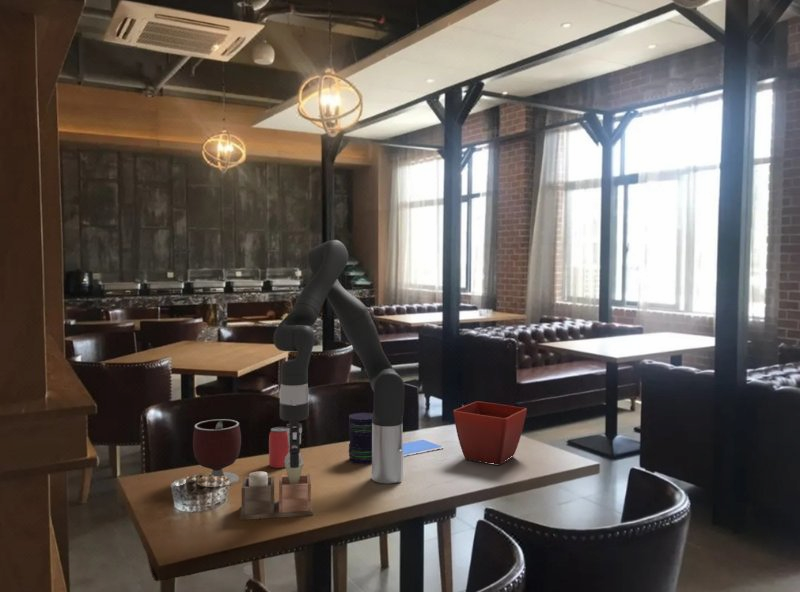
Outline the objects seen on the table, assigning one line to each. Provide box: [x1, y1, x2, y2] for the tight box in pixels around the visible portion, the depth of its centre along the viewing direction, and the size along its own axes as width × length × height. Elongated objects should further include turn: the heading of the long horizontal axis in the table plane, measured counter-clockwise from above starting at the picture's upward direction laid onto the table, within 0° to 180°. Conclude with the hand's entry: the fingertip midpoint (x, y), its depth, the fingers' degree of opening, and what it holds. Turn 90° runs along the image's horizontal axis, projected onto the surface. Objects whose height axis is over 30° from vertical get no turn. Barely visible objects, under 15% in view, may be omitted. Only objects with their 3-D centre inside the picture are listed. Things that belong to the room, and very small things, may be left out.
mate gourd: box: [192, 418, 242, 486], centre depth 193 cm, size 16×14×20 cm
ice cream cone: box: [284, 445, 304, 484], centre depth 171 cm, size 5×5×15 cm
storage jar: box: [348, 412, 373, 466], centre depth 215 cm, size 10×10×15 cm
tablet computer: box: [402, 439, 444, 457], centre depth 229 cm, size 19×13×1 cm, turn 125°
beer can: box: [268, 426, 290, 469], centre depth 209 cm, size 7×7×12 cm
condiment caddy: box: [239, 470, 314, 521], centre depth 171 cm, size 18×9×10 cm, turn 100°
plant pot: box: [453, 401, 528, 465], centre depth 218 cm, size 19×19×17 cm
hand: (294, 463), depth 171 cm, fingers closed on ice cream cone, 5 cm apart
